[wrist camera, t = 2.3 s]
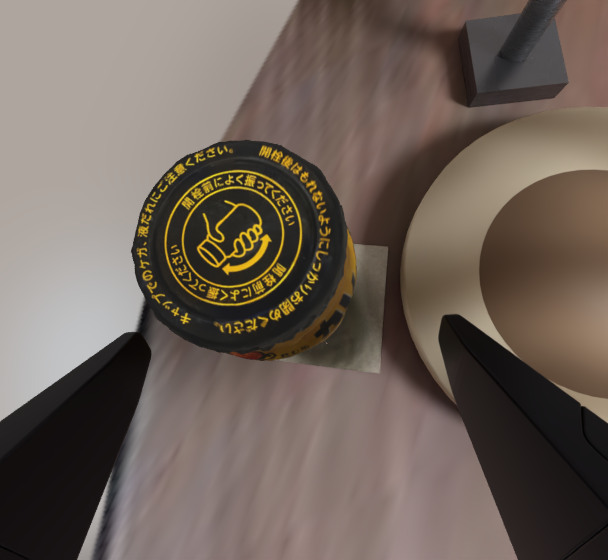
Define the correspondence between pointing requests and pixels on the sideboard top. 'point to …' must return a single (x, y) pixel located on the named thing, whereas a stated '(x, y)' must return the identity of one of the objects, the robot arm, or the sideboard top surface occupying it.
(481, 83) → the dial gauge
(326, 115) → the sideboard top surface
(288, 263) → the condiment
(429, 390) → the sideboard top surface
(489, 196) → the ring
